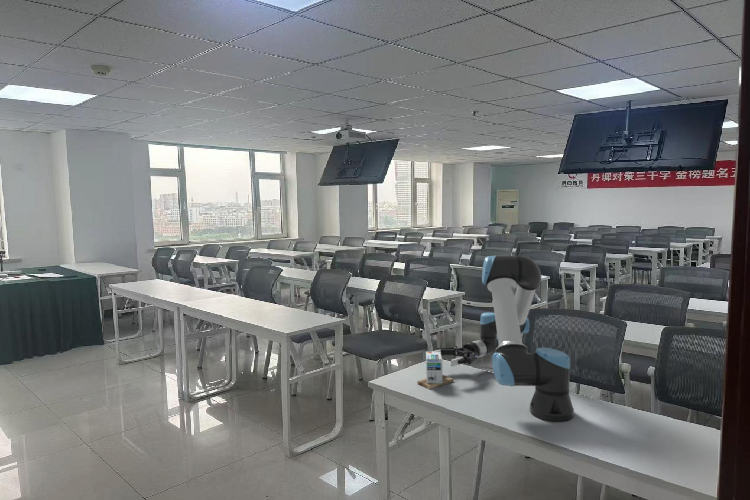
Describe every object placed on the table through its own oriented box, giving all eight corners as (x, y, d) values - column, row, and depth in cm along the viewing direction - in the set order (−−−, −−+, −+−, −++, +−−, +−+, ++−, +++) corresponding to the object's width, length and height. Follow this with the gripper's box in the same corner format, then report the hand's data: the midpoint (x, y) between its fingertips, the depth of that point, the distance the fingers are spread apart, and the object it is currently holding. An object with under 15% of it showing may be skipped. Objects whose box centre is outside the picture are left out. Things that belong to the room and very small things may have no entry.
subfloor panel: (453, 381, 214) (453, 378, 214) (429, 389, 206) (429, 386, 206) (441, 376, 220) (441, 374, 220) (417, 383, 212) (417, 381, 212)
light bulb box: (442, 384, 208) (442, 359, 207) (426, 383, 209) (426, 358, 208) (441, 375, 219) (441, 351, 218) (425, 375, 219) (425, 351, 218)
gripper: (495, 365, 218) (461, 375, 206) (454, 351, 238) (421, 360, 226) (495, 348, 218) (461, 357, 205) (454, 336, 238) (421, 344, 225)
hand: (440, 359), depth 215 cm, fingers open, 13 cm apart
